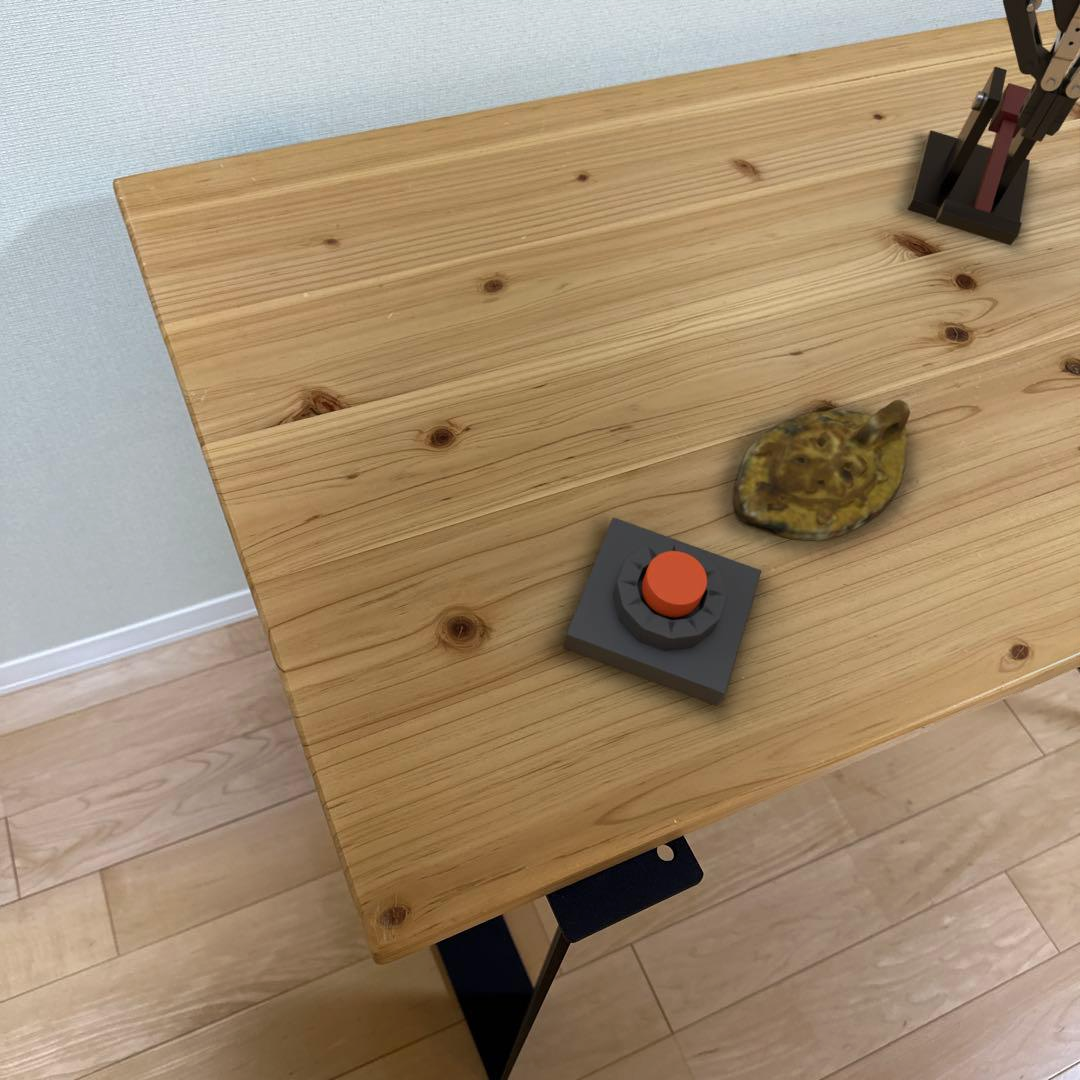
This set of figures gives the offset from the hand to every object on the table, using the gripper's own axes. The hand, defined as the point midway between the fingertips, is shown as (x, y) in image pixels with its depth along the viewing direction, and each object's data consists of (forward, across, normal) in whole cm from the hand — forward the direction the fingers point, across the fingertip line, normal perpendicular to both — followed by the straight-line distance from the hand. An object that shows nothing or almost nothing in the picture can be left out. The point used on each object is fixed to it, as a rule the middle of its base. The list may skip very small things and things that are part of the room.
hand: (1031, 132), depth 70 cm
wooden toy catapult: (+13, 0, +10) cm, 16 cm away
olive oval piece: (+13, -6, -25) cm, 29 cm away
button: (+9, -13, -40) cm, 43 cm away
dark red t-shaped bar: (+7, 0, +5) cm, 9 cm away
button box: (+13, -13, -40) cm, 44 cm away
